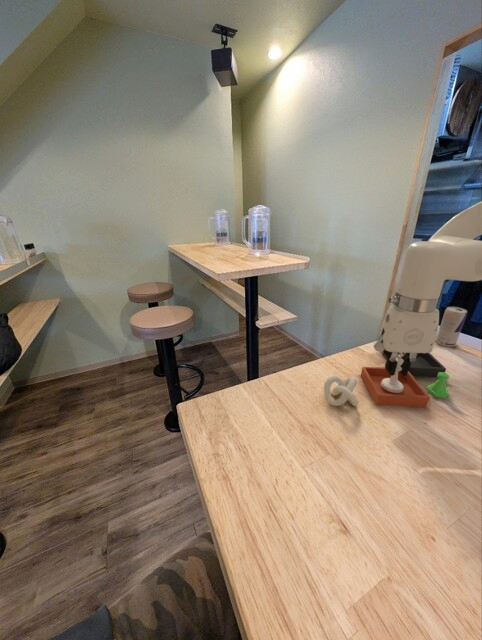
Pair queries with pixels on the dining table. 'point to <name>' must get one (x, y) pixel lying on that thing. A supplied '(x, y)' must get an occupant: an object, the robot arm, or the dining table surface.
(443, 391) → the game piece
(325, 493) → the dining table surface
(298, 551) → the dining table surface
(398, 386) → the chess piece
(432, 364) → the charcoal bin
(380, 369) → the terracotta bin
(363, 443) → the dining table surface
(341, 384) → the knot
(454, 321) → the energy drink
